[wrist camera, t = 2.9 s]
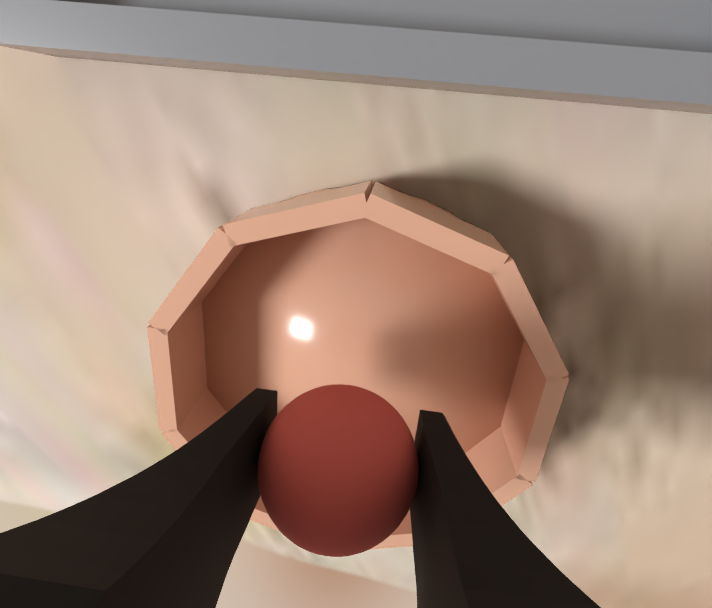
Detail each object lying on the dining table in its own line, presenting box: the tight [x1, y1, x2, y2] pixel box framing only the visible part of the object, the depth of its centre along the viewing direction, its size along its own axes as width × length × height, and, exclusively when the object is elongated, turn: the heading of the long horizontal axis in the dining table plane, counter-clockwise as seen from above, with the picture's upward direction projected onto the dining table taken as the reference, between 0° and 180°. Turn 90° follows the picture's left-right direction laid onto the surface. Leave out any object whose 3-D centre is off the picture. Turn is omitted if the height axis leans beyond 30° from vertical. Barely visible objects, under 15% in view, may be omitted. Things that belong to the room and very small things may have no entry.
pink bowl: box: [147, 181, 569, 549], centre depth 14 cm, size 12×13×3 cm
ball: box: [258, 384, 419, 557], centre depth 11 cm, size 4×4×4 cm
